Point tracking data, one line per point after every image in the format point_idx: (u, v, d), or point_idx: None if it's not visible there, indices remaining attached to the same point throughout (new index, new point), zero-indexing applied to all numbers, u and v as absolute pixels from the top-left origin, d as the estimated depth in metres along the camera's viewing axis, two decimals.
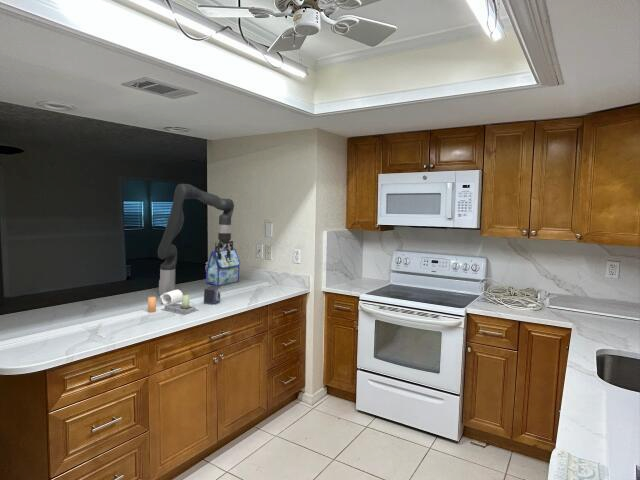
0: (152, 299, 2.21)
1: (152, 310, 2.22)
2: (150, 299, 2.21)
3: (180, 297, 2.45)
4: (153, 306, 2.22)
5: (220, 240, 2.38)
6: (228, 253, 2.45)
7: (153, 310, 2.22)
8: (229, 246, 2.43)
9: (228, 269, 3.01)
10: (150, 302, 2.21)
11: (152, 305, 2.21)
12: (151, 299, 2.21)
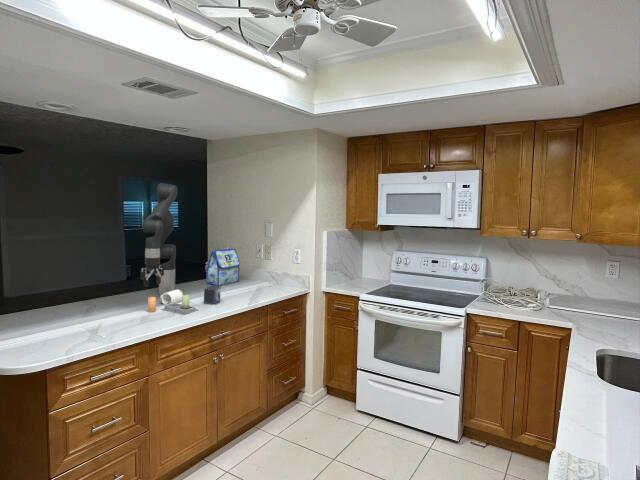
0: (152, 299, 2.21)
1: (152, 310, 2.22)
2: (150, 299, 2.21)
3: (180, 297, 2.45)
4: (153, 306, 2.22)
5: (147, 265, 2.17)
6: (158, 279, 2.25)
7: (153, 310, 2.22)
8: (158, 271, 2.23)
9: (228, 269, 3.01)
10: (150, 302, 2.21)
11: (152, 305, 2.21)
12: (151, 299, 2.21)
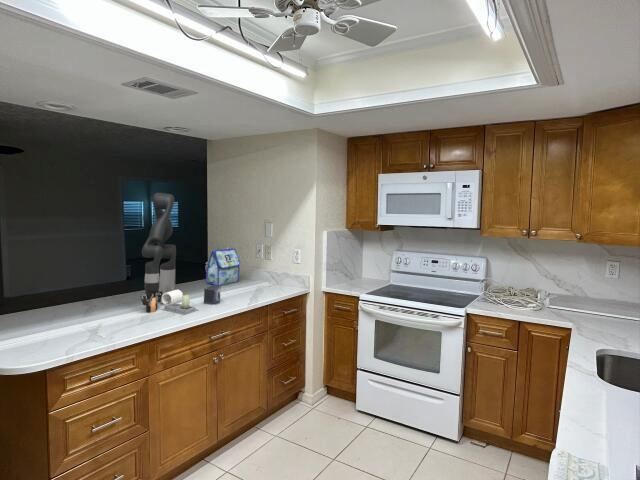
0: (152, 299, 2.21)
1: (152, 310, 2.22)
2: None
3: (180, 297, 2.45)
4: (153, 306, 2.22)
5: (146, 290, 2.19)
6: None
7: (153, 310, 2.22)
8: (157, 297, 2.24)
9: (228, 269, 3.01)
10: None
11: (152, 305, 2.21)
12: None
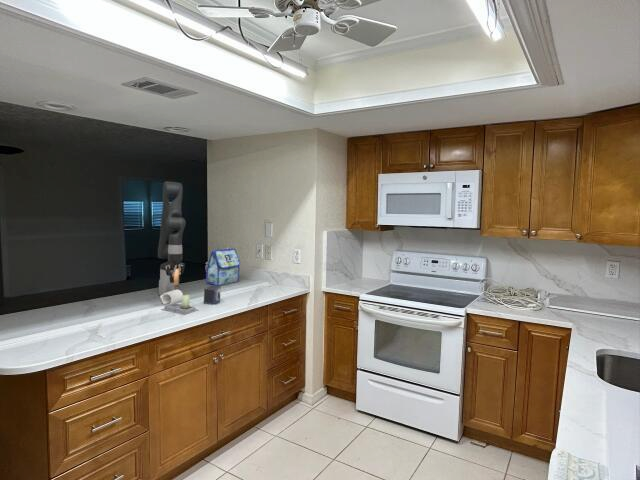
0: (175, 270, 2.27)
1: (176, 281, 2.28)
2: None
3: (180, 297, 2.45)
4: (176, 277, 2.28)
5: (170, 261, 2.25)
6: None
7: (176, 281, 2.28)
8: (180, 268, 2.30)
9: (228, 269, 3.01)
10: None
11: (175, 276, 2.27)
12: None
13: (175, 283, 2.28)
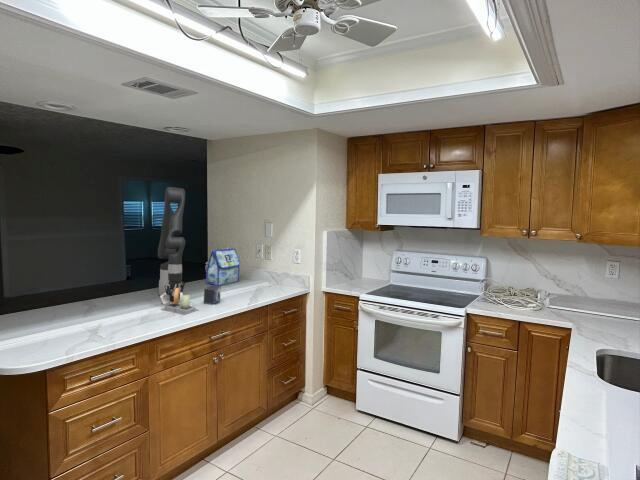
0: (175, 289, 2.28)
1: (175, 300, 2.29)
2: None
3: (180, 297, 2.45)
4: (176, 296, 2.29)
5: (170, 281, 2.26)
6: None
7: (176, 300, 2.29)
8: (179, 287, 2.31)
9: (228, 269, 3.01)
10: None
11: (175, 295, 2.28)
12: None
13: (175, 302, 2.29)
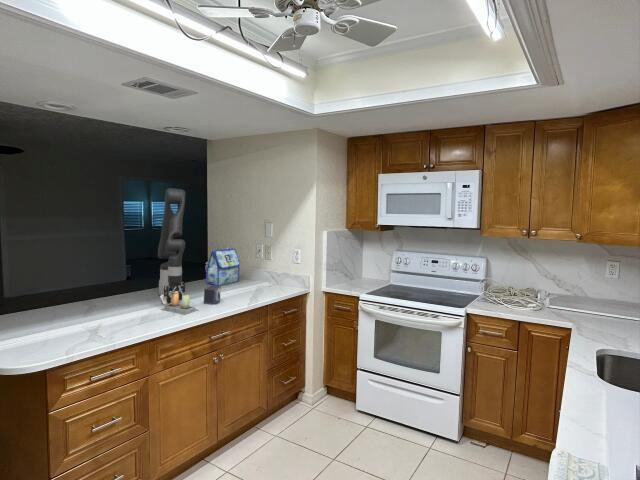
0: (175, 295, 2.29)
1: (175, 305, 2.29)
2: (173, 295, 2.28)
3: None
4: (176, 301, 2.29)
5: (169, 283, 2.26)
6: (179, 295, 2.34)
7: (176, 305, 2.30)
8: (180, 288, 2.32)
9: (228, 269, 3.01)
10: (173, 298, 2.29)
11: (175, 301, 2.29)
12: (174, 295, 2.28)
13: None
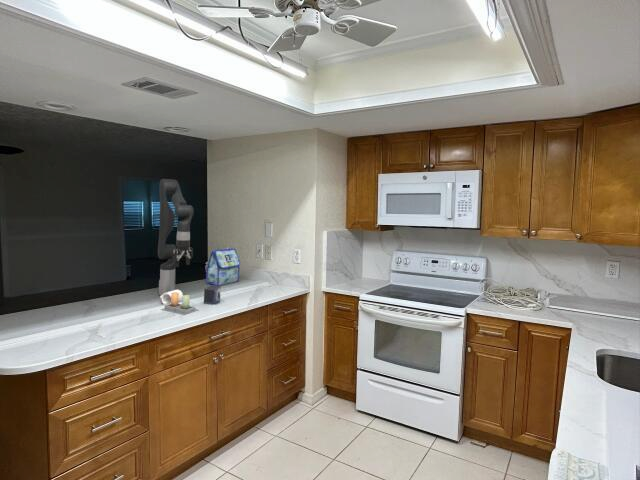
0: (175, 295, 2.29)
1: (175, 305, 2.29)
2: (173, 295, 2.28)
3: (180, 297, 2.45)
4: (176, 301, 2.29)
5: (178, 247, 2.34)
6: (187, 260, 2.41)
7: (176, 305, 2.30)
8: (188, 253, 2.39)
9: (228, 269, 3.01)
10: (173, 298, 2.29)
11: (175, 301, 2.29)
12: (174, 295, 2.28)
13: None
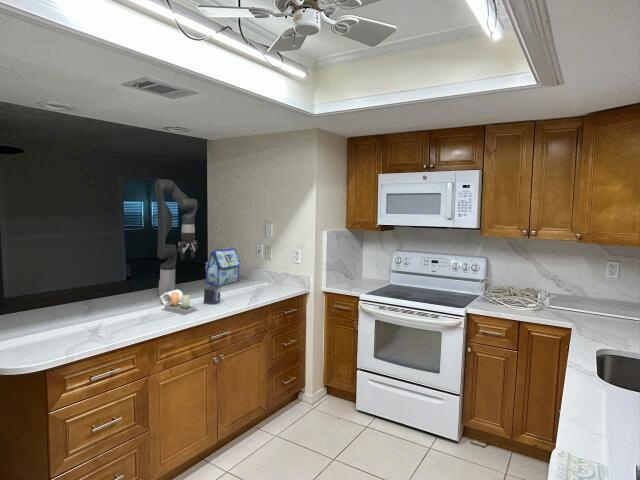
0: (175, 295, 2.29)
1: (175, 305, 2.29)
2: (173, 295, 2.28)
3: (180, 297, 2.45)
4: (176, 301, 2.29)
5: (183, 240, 2.39)
6: (192, 253, 2.47)
7: (176, 305, 2.30)
8: (193, 246, 2.45)
9: (228, 269, 3.01)
10: (173, 298, 2.29)
11: (175, 301, 2.29)
12: (174, 295, 2.28)
13: None
